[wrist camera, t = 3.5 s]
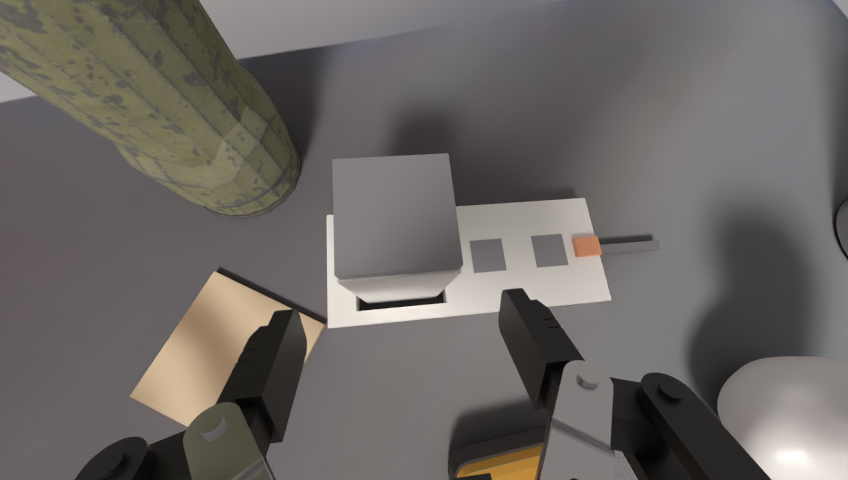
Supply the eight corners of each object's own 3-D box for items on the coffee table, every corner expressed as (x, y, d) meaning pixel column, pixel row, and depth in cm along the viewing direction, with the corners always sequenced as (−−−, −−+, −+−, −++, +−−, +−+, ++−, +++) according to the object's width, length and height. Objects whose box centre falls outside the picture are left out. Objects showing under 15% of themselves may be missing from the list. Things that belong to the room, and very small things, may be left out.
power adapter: (365, 238, 24) (329, 154, 12) (428, 233, 24) (450, 149, 13) (368, 303, 23) (331, 278, 11) (435, 297, 23) (466, 266, 12)
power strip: (332, 223, 24) (325, 212, 22) (638, 201, 26) (659, 190, 24) (333, 328, 22) (326, 327, 20) (667, 295, 24) (693, 292, 22)
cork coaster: (217, 272, 23) (214, 271, 22) (325, 324, 22) (324, 324, 22) (134, 395, 20) (129, 396, 20) (254, 457, 19) (251, 460, 19)
